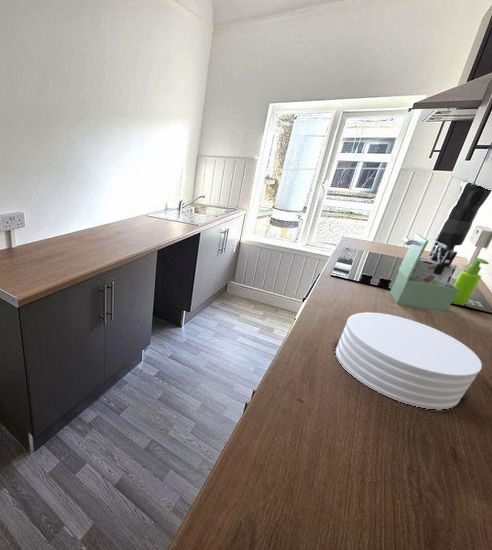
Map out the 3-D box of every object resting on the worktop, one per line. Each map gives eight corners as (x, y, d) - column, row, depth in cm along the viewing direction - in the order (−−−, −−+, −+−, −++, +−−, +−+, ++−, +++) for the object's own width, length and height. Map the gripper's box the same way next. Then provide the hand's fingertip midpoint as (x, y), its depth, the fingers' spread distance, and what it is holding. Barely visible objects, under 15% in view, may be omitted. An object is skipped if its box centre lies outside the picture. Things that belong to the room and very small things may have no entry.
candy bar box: (438, 301, 123) (458, 265, 116) (437, 305, 120) (456, 268, 113) (404, 291, 131) (420, 257, 124) (401, 294, 128) (418, 259, 121)
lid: (418, 233, 123) (402, 231, 125) (428, 241, 113) (411, 238, 115) (400, 270, 130) (386, 267, 132) (409, 279, 120) (393, 276, 122)
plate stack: (321, 365, 88) (333, 333, 83) (350, 331, 105) (362, 303, 100) (452, 430, 69) (478, 394, 64) (463, 376, 85) (484, 344, 81)
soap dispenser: (452, 304, 125) (477, 261, 117) (442, 297, 131) (465, 255, 123) (470, 307, 124) (496, 263, 115) (459, 299, 130) (483, 257, 121)
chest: (434, 301, 128) (446, 278, 123) (445, 313, 118) (458, 289, 114) (389, 292, 134) (399, 270, 130) (396, 303, 125) (407, 280, 120)
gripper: (476, 237, 106) (453, 279, 113) (458, 228, 117) (438, 267, 124) (448, 234, 109) (427, 275, 116) (433, 225, 120) (415, 263, 127)
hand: (433, 270), depth 120 cm, fingers closed on candy bar box, 6 cm apart
